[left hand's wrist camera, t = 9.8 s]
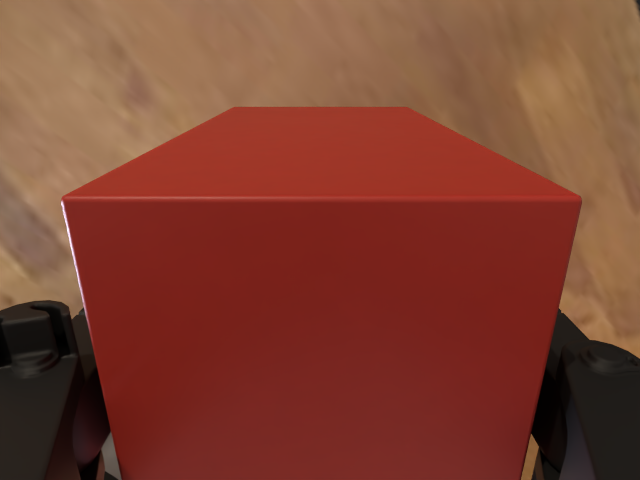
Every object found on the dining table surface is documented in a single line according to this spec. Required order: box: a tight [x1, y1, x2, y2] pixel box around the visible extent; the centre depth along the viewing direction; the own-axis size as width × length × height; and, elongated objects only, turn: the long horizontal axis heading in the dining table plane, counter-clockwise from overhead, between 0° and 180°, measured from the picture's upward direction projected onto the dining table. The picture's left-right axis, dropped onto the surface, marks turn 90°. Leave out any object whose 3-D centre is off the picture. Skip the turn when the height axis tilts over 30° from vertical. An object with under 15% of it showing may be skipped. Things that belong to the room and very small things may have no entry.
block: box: [61, 107, 582, 480], centre depth 12 cm, size 6×8×11 cm
